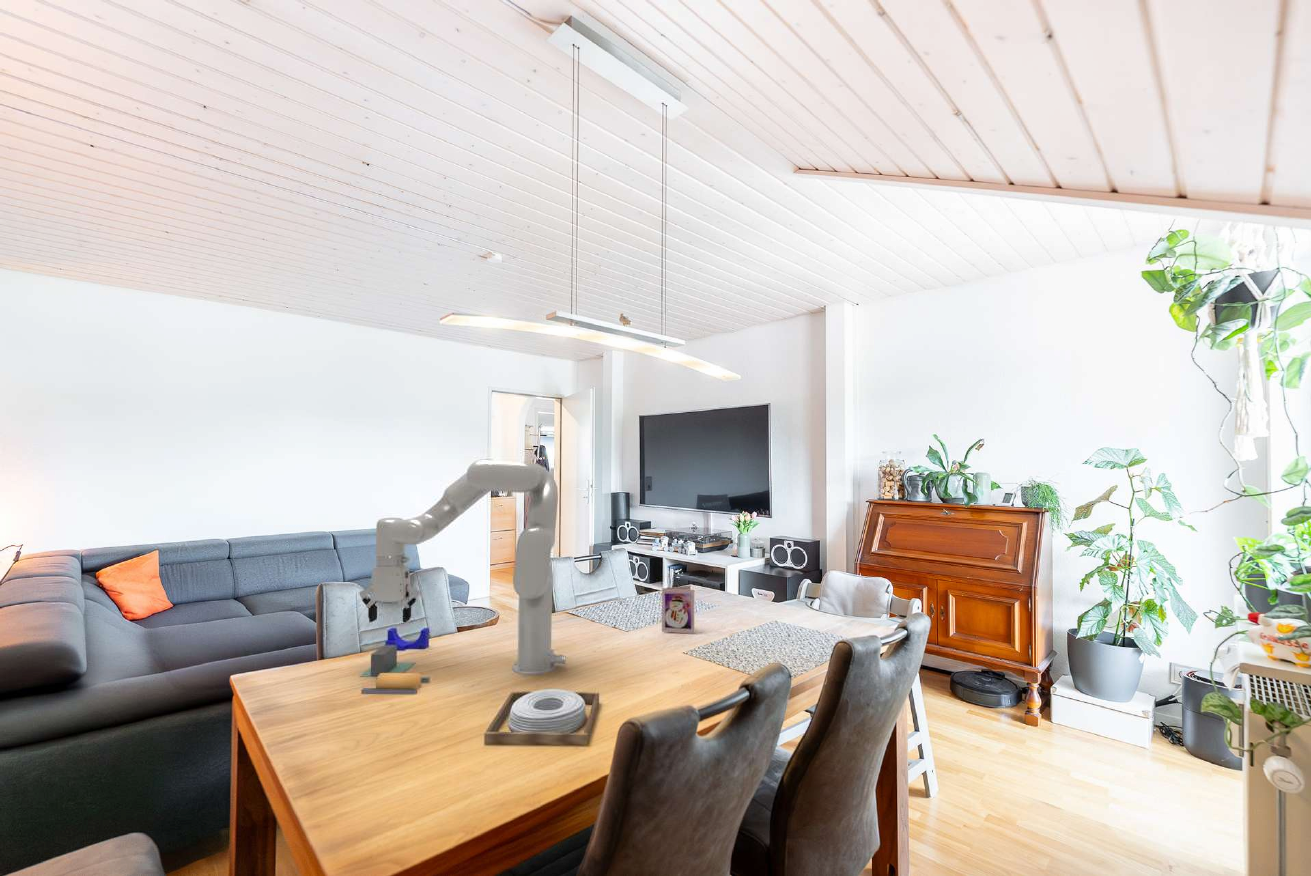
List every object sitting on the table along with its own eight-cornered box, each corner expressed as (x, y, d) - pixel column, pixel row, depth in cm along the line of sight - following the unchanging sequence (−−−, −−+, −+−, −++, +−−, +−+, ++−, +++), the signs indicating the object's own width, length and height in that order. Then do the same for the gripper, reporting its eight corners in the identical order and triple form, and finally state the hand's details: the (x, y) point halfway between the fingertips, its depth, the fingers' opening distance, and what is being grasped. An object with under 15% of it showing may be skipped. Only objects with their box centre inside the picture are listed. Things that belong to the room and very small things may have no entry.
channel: (429, 682, 157) (429, 677, 157) (415, 696, 148) (415, 690, 148) (378, 682, 158) (378, 676, 158) (361, 695, 149) (361, 689, 149)
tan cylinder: (422, 683, 155) (419, 669, 154) (415, 695, 151) (412, 681, 149) (385, 682, 155) (382, 669, 154) (377, 695, 151) (374, 681, 150)
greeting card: (661, 632, 203) (661, 589, 203) (664, 626, 210) (664, 584, 210) (694, 634, 201) (694, 590, 201) (696, 627, 208) (696, 585, 208)
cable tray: (599, 706, 143) (599, 692, 143) (586, 751, 121) (586, 734, 121) (511, 705, 143) (512, 691, 143) (484, 750, 122) (484, 733, 122)
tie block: (396, 665, 169) (397, 645, 169) (383, 676, 161) (383, 654, 161) (384, 665, 169) (385, 644, 169) (370, 676, 161) (371, 654, 161)
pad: (415, 663, 172) (415, 662, 172) (398, 678, 161) (398, 676, 161) (378, 663, 172) (378, 661, 172) (359, 677, 161) (359, 676, 161)
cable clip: (385, 651, 183) (385, 632, 183) (391, 646, 187) (391, 627, 188) (423, 651, 183) (423, 632, 183) (428, 646, 188) (429, 627, 188)
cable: (549, 754, 120) (549, 725, 121) (490, 732, 130) (491, 705, 130) (600, 721, 135) (600, 695, 135) (545, 704, 145) (545, 679, 145)
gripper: (425, 558, 170) (425, 617, 170) (367, 558, 171) (366, 617, 170) (414, 563, 163) (413, 625, 162) (353, 563, 163) (352, 624, 163)
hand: (389, 620), depth 166 cm, fingers open, 9 cm apart
